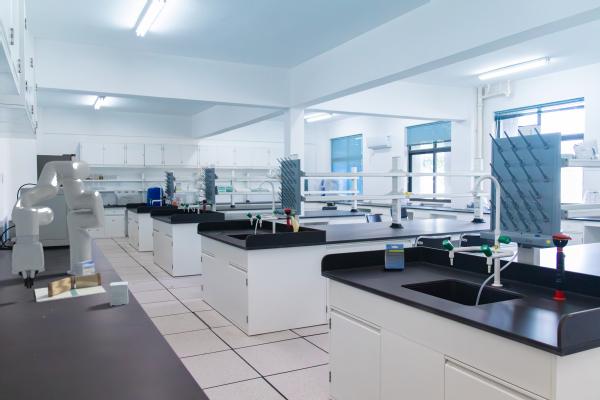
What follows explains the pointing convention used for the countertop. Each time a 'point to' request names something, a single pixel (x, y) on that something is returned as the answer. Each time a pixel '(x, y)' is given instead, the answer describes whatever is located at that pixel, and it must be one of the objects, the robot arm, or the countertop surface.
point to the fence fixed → (86, 281)
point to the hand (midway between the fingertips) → (29, 287)
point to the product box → (118, 293)
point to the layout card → (68, 293)
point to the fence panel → (59, 286)
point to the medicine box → (84, 268)
